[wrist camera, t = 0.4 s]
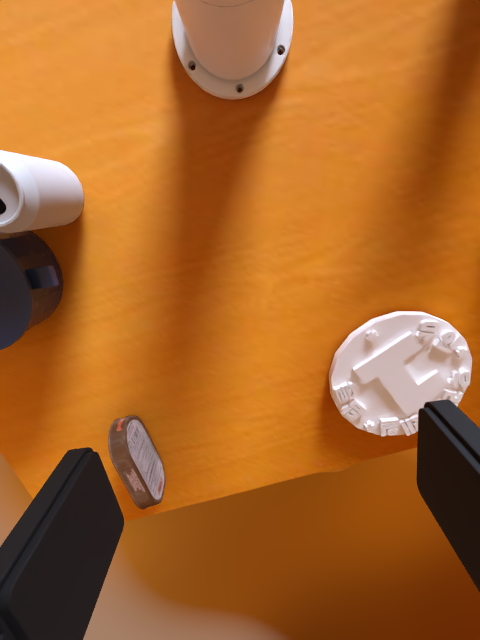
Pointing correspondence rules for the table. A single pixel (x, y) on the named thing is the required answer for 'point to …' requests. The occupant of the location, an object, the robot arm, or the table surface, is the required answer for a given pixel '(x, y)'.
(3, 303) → the pot lid
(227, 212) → the table surface
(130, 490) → the tin
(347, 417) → the embossed medallion
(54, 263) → the pot
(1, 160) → the can
